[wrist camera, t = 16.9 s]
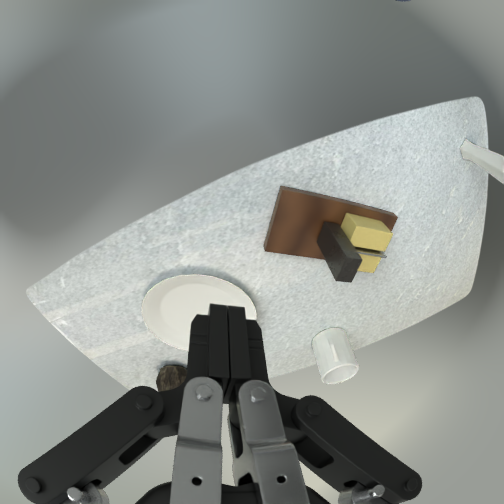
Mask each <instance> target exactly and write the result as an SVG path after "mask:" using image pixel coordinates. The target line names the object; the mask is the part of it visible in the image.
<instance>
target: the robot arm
mask: <svg viewBox="0 0 504 504" xmlns="http://www.w3.org/2000/svg"><path fill="white" fill-rule="evenodd" d="M262 340H263V339H262V332H261V328H260V327H259V325H258V323H257V322H256V320H252V319H246V314H245V307H240V306H231V305H221V304H212V303H210V305H209V311H208V315H201V314H196V316H195V317H194V319H193V320H192V322H191V329H190V340H189V352H188V365H187V376H186V379H185V380H184V382H183V383H182V384H181V385H180V386H178V387H177V388H174V389H171V390H165V391H159V392H157V391H156V390H155V389H153V388H151V387H147V386H138V387H135V388H133V389H131V390H130V391H128V392H127V393H126V394H125V395H123V396H122V397H121V398H119V399H118V400H117V401H116V402H114V403H113V404H112V405H110V406H109V407H108V408H106V409H105V410H104V411H102V412H101V413H100V414H98V415H97V416H96V417H95V418H93V419H92V420H91V421H89V422H88V423H87V424H85V425H84V426H83V427H81V428H80V429H78V430H77V431H76V432H74V433H73V434H72V435H70V436H69V437H68V438H66V439H65V440H63V441H62V442H61V443H59V444H58V445H57V446H55V447H53V448H52V449H51V450H49V451H48V452H47V453H45V454H44V455H42V456H41V457H39V458H38V459H36V460H35V461H34V462H32V463H31V464H29V465H28V466H26V467H25V468H23V469H22V470H21V471H20V473H19V475H18V484H19V487H20V490H21V492H22V493H23V494H24V496H25V497H26V498H27V499H28V500H30V501H31V502H33V503H35V504H109V498H108V496H107V494H106V493H105V491H104V490H103V488H105V487H106V486H107V485H108V484H110V483H111V482H112V481H113V480H115V479H116V478H117V477H118V476H120V475H121V474H122V473H123V472H124V471H126V470H127V469H128V468H129V467H130V466H131V465H133V464H134V463H135V462H136V461H138V459H140V458H141V457H142V456H143V455H144V454H145V453H147V452H148V451H149V450H150V449H151V448H152V447H153V446H155V445H156V444H157V443H158V442H159V441H160V440H161V439H162V438H164V437H169V436H174V435H178V437H177V442H176V448H175V456H174V465H173V475H172V481H171V482H167V483H163V484H160V485H158V486H156V487H154V488H152V489H151V490H149V491H148V492H147V493H146V494H145V495H144V496H143V497H142V498H141V499H139V500H138V501H137V502H136V503H135V504H330V503H329V502H328V501H327V500H325V499H324V498H323V497H322V496H320V495H319V494H318V493H317V492H315V491H314V490H313V489H311V488H310V487H308V486H306V485H305V483H304V479H303V475H302V471H301V467H300V463H299V461H301V462H302V463H303V464H304V465H305V466H306V467H308V468H309V469H310V470H311V471H313V472H314V473H315V474H316V475H318V476H319V477H320V478H321V479H323V480H324V481H325V482H326V483H328V484H329V485H330V486H332V487H333V488H334V489H336V490H337V491H338V492H340V495H339V499H338V503H339V504H399V503H401V502H405V501H408V500H411V499H413V498H415V497H416V496H417V495H418V494H419V493H420V491H421V488H422V480H421V477H420V475H419V474H418V473H417V472H415V471H414V470H412V469H411V468H409V467H408V466H407V465H405V464H404V463H402V462H401V461H400V460H398V459H397V458H396V457H394V456H393V455H392V454H390V453H389V452H387V451H386V450H385V449H384V448H382V447H381V446H380V445H378V444H377V443H376V442H374V441H373V440H372V439H371V438H369V437H368V436H367V435H365V434H364V433H363V432H362V431H360V430H359V429H358V428H356V427H355V426H354V425H353V424H352V423H350V422H349V421H348V420H347V419H346V418H344V417H343V416H342V415H341V414H339V413H338V412H337V411H336V410H335V409H333V408H332V407H331V406H330V405H329V404H327V403H326V402H325V401H324V400H323V399H321V398H319V397H317V396H311V395H310V396H305V397H303V398H301V399H300V400H299V399H296V398H292V397H288V396H285V395H282V394H280V393H278V392H277V391H276V390H274V389H273V388H272V386H271V385H270V383H269V380H268V374H267V367H266V360H265V353H264V346H263V341H262ZM223 404H229V415H228V419H227V420H228V428H229V435H230V442H231V448H232V455H233V465H232V468H233V477H234V483H235V486H230V485H225V484H221V482H222V446H221V427H222V407H223Z"/></svg>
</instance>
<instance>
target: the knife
mask: <svg viewBox="0 0 504 504" xmlns="http://www.w3.org/2000/svg"><path fill="white" fill-rule="evenodd" d="M317 244H318V246H319V248H320V250H321V252H322V254H323V256H324V258H325V260H326V262H327V264H328V266H329V268H330V270H331V272H332V274H333V276H334V278H335V281H342V282H352V280H353V278H354V276H355V274H356V272H357V270H358V269H359V267H360V265H361V263H362V261H363V259H362V258H361V256H360V255H359V254H364V255H370V256H376V257H382V258H386V257H387V256H386V255H385V254H384V252H383V251H379V250H373V249H367V248H362V247H356V246H353V244H352V243H351V241H350V240H349V238H348V237H347V236H346V234H345V233H344V231H343V230H342V228H341V227H340V225H339V224H336V223H331V222H326V221H324V224H323V226H322V229H321V232H320V234H319V237H318V239H317Z"/></svg>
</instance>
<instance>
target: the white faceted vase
mask: <svg viewBox="0 0 504 504" xmlns="http://www.w3.org/2000/svg"><path fill="white" fill-rule="evenodd" d="M460 150H461V153H462V157H463V159H466V160H470V161H472V162H473V163H475V164H476V165H478V166H479V167H481V168H482V169H484V170H485V171H486V172H488V173H489V174H491V175H492V176H493V177H495V178H496V179H497V180H499V181H500V182H501V183H503V184H504V156H502V155H500V154H498V153H495V152H493V151H490V150H488V149H485V148H483V147H480V146H477V145H475V144H473V143H471V142H470V141H469V140H467V139H465V141H464V143H463V144H462V146H461V148H460Z"/></svg>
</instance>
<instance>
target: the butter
mask: <svg viewBox="0 0 504 504" xmlns="http://www.w3.org/2000/svg"><path fill="white" fill-rule="evenodd" d="M341 228H342V230H343V231H344V233H345V234H346V236H347V237H348V238H349V240H350V241H351V243H352V244H353V246H356V247H362V248H367V249H373V250H379V251H385V250H386V248H387V246H388V244H389V242H390V240H391V238H392V236H393V233H392V232H391V231H390V230H389V229H388V228H387V227H386V225H385V224H384V223H383V222H382V221H379V220H375V219H371V218H367V217H363V216H358V215H354V214H350V213H346V215H345V217H344V220H343V222H342V225H341ZM359 255H360V256H361V258H362V259H363V261H362V263H361V265H360V267H359V269H358V270H357V271H362V272H370V273H374V271H375V269H376V267H377V265H378V263H379V262H380V260H381V258H382V257H376V256H370V255H364V254H359Z"/></svg>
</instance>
